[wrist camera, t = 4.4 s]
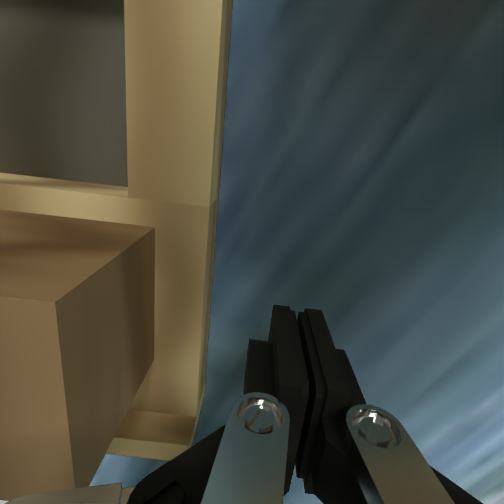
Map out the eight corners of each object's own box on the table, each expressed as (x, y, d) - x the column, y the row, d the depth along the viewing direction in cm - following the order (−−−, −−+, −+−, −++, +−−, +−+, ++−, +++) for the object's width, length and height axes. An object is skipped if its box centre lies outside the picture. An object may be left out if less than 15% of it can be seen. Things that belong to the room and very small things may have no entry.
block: (155, 227, 12) (55, 302, 6) (154, 359, 14) (77, 508, 8) (-4, 209, 12) (-248, 268, 6) (18, 343, 14) (-154, 482, 8)
